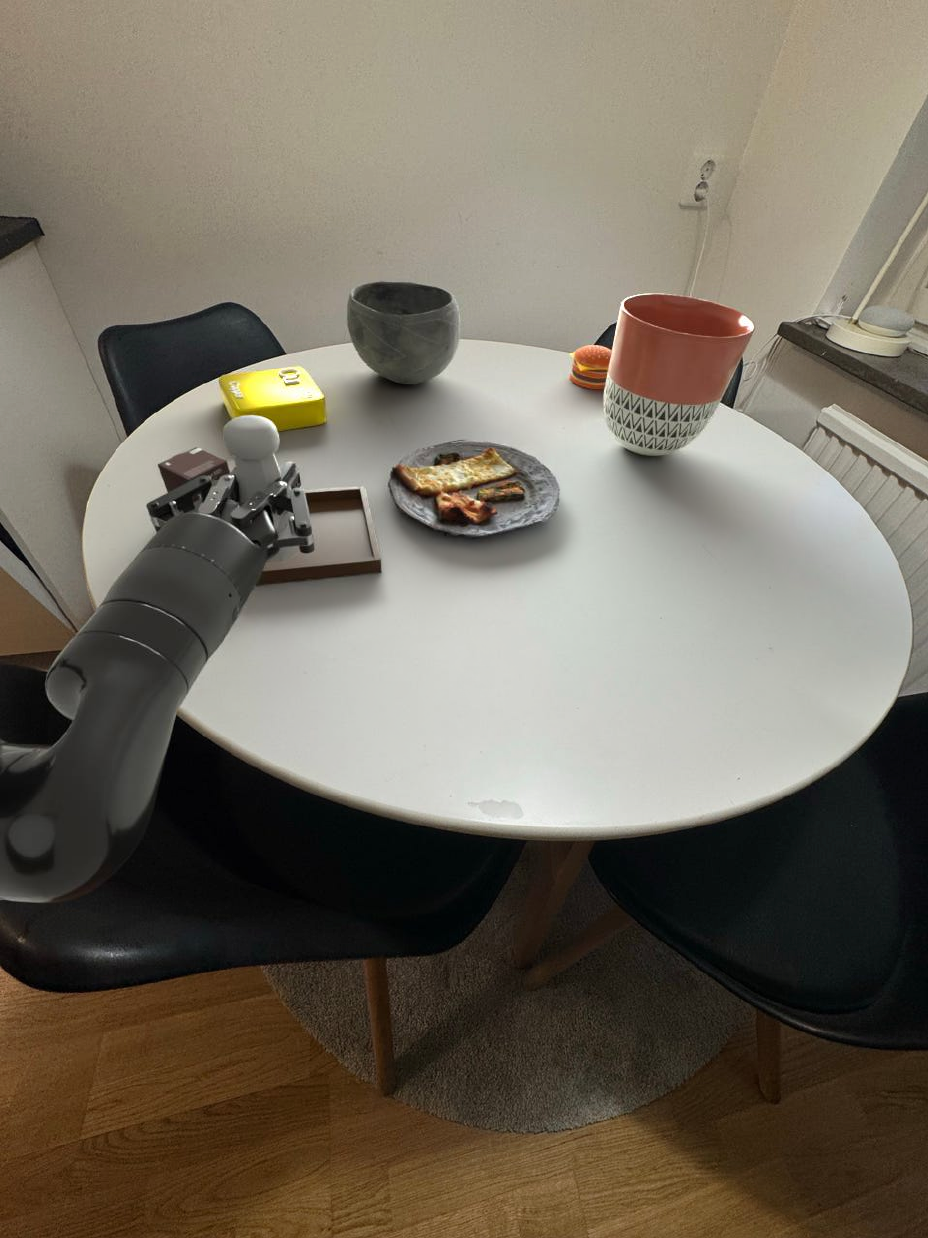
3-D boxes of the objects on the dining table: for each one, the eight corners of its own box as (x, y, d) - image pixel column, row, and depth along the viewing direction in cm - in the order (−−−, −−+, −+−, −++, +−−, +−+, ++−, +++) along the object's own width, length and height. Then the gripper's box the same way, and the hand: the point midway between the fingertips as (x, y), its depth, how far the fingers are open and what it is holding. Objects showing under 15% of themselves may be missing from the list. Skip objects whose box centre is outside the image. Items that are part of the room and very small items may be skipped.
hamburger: (619, 390, 113) (628, 356, 108) (575, 390, 111) (582, 356, 107) (604, 371, 119) (612, 339, 115) (562, 371, 118) (569, 338, 113)
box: (204, 529, 71) (188, 480, 66) (173, 513, 73) (155, 463, 68) (241, 508, 75) (228, 460, 70) (210, 493, 77) (196, 445, 72)
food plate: (424, 560, 70) (425, 539, 67) (367, 469, 84) (366, 449, 82) (585, 522, 79) (591, 501, 76) (508, 445, 93) (511, 426, 90)
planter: (623, 482, 87) (669, 340, 72) (569, 425, 100) (598, 294, 84) (722, 469, 93) (784, 334, 77) (659, 417, 105) (701, 292, 90)
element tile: (221, 399, 97) (215, 371, 93) (305, 388, 102) (302, 362, 99) (239, 438, 88) (232, 409, 85) (330, 424, 93) (327, 396, 90)
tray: (240, 587, 64) (236, 573, 63) (244, 507, 75) (241, 493, 74) (381, 572, 68) (381, 559, 66) (365, 498, 79) (364, 485, 77)
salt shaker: (318, 547, 54) (301, 421, 45) (275, 577, 51) (246, 447, 41) (275, 525, 56) (250, 400, 47) (231, 552, 52) (194, 423, 43)
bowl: (346, 358, 114) (339, 275, 103) (444, 356, 119) (448, 277, 108) (356, 402, 100) (350, 312, 89) (468, 398, 105) (475, 313, 94)
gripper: (275, 564, 35) (345, 439, 47) (63, 536, 36) (188, 419, 48) (292, 642, 41) (351, 512, 53) (108, 617, 41) (209, 493, 53)
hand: (273, 468), depth 50 cm, fingers closed on salt shaker, 3 cm apart
